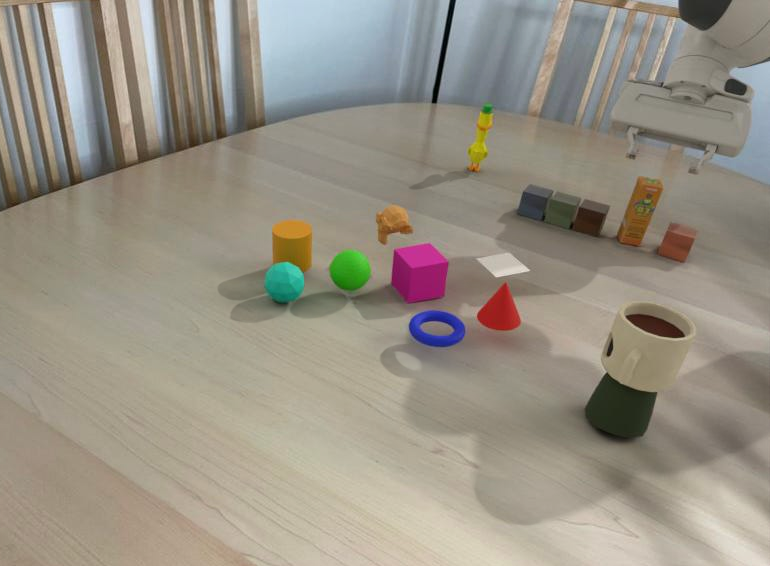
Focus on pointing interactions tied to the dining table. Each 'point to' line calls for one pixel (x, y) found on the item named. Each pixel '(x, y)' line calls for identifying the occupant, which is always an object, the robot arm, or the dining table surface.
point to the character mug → (638, 366)
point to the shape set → (409, 275)
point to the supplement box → (640, 210)
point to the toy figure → (481, 138)
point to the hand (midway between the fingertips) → (661, 164)
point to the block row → (594, 218)
